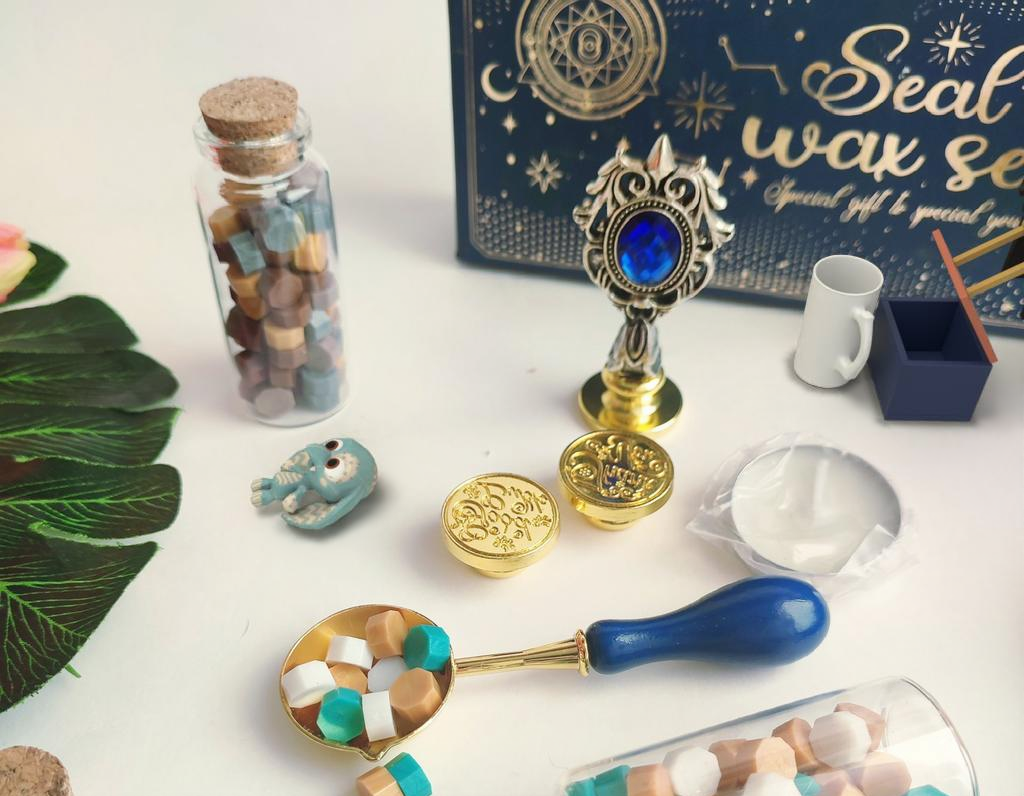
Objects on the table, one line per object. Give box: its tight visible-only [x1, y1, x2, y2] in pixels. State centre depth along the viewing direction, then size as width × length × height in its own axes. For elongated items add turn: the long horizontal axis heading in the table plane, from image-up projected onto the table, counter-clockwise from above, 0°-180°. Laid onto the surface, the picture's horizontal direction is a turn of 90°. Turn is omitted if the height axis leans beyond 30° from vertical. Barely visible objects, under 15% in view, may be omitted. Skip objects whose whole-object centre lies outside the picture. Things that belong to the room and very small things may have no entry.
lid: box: [932, 220, 1024, 365], centre depth 102 cm, size 9×11×9 cm
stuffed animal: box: [250, 437, 379, 531], centre depth 99 cm, size 11×7×12 cm
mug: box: [793, 254, 885, 389], centre depth 109 cm, size 10×7×12 cm, turn 12°
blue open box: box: [866, 296, 994, 422], centre depth 110 cm, size 9×11×7 cm
